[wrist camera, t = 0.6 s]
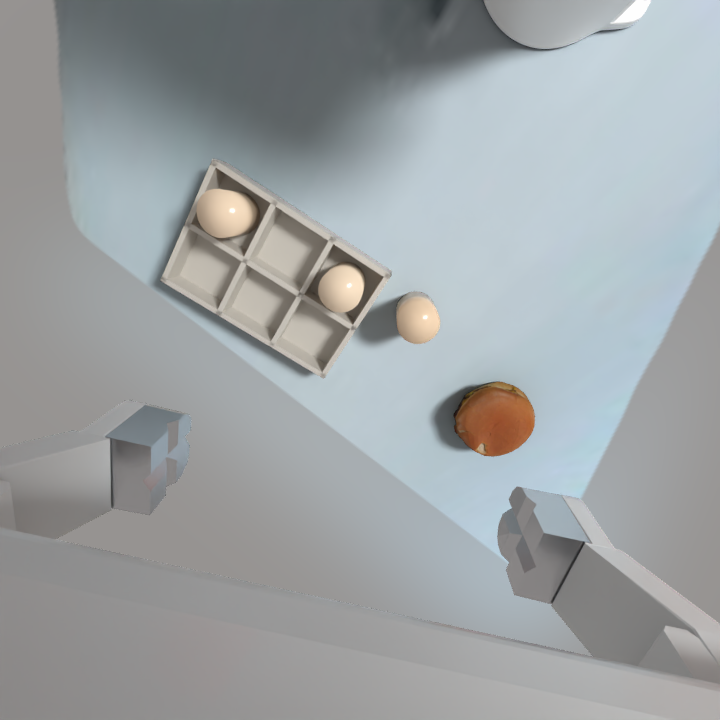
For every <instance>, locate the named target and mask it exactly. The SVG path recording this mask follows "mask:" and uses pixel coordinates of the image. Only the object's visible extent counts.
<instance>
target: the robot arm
mask: <svg viewBox="0 0 720 720" xmlns="http://www.w3.org/2000/svg"><path fill="white" fill-rule="evenodd" d="M650 2H651V0H484V3H485V5H486V8H487V10H488V12H489V14H490V15H491V17H492V19H493V20H494V22H495V23H496V24H497V26H498V27H499V28H500V29H501V30H502V31H503V32H504V33H505V34H506V35H507V36H509V37H510V38H511V39H513V40H515V41H516V42H518V43H520V44H523V45H526V46H529V47H533V48H539V49H552V48H559V47H563V46H567V45H570V44H573V43H575V42H577V41H580V40H581V39H583V38H585V37H587V36H589V35H591V34H593V33H595V32H598V31H601V30H614V29H623V28H627V27H630V26H632V25H634V24H635V23H636V22H637V21H638V20H639V19H640V18H641V17H642V16H643V15H644V13H645V11H646V10H647V8H648V6H649V4H650ZM190 430H191V417H190V416H189V414H187V413H183V412H179V411H174V410H170V409H166V408H162V407H158V406H154V405H148V404H145V403H141V402H136V401H132V400H125V401H123V402H122V403H120V404H119V405H117V406H116V407H115V408H113V409H112V410H110V411H109V412H107V413H106V414H105V415H103V416H102V417H100V418H99V419H97V420H96V421H95V422H93V423H92V424H90V425H89V426H88V427H86V428H84V429H83V430H82V431H80V432H78V431H73V430H72V431H68V432H64V433H60V434H56V435H51V436H47V437H43V438H39V439H35V440H30V441H26V442H22V443H18V444H14V445H9V446H6V447H2V448H0V720H720V624H719V623H718V622H717V621H715V620H714V619H713V618H711V617H710V616H708V615H707V614H706V613H704V612H703V611H702V610H701V609H699V608H698V607H697V606H695V605H694V604H693V603H691V602H690V601H688V600H687V599H686V598H684V597H683V596H682V595H680V594H679V593H678V592H676V591H675V590H674V589H672V588H671V587H670V586H668V585H667V584H665V583H664V582H663V581H662V580H660V579H659V578H658V577H656V576H655V575H654V574H652V573H651V572H650V571H648V570H647V569H646V568H644V567H643V566H642V565H640V564H639V563H638V562H636V561H635V560H634V559H632V558H631V557H630V556H628V555H627V554H625V553H624V552H623V551H621V550H617V549H615V548H614V547H613V545H612V544H611V542H610V541H609V539H608V538H607V536H606V535H605V533H604V532H603V530H602V529H601V528H600V526H599V524H598V523H597V522H596V520H595V518H594V517H593V515H592V514H591V512H590V511H589V509H588V508H587V506H586V505H585V503H584V502H583V501H582V500H580V499H579V498H575V497H570V496H564V495H559V494H552V493H547V492H542V491H537V490H532V489H527V488H522V487H516V488H515V489H514V490H513V491H512V494H511V496H510V498H509V501H510V504H511V507H512V508H511V509H510V510H508V511H507V512H505V513H504V514H503V515H502V517H501V520H500V523H499V527H498V536H497V537H498V546H499V549H500V552H501V554H502V556H503V557H504V558H505V559H506V560H507V561H508V562H509V564H508V566H507V569H506V571H507V574H508V577H509V580H510V583H511V586H512V589H513V592H514V595H517V596H520V597H524V598H529V599H533V600H537V601H541V602H545V603H549V604H552V605H551V606H552V607H553V608H554V610H555V611H556V612H557V614H558V615H559V616H560V617H561V618H562V620H563V621H564V622H565V623H566V625H567V626H568V627H569V628H570V629H571V631H572V632H573V633H574V634H575V635H576V637H577V638H578V639H579V640H580V641H581V643H582V644H583V645H584V646H585V648H586V649H587V650H588V651H589V652H590V653H591V655H592V656H593V657H592V656H587V655H583V654H578V653H574V652H569V651H565V650H560V649H555V648H551V647H546V646H542V645H537V644H533V643H528V642H523V641H519V640H514V639H510V638H505V637H500V636H496V635H491V634H487V633H482V632H478V631H473V630H469V629H464V628H459V627H455V626H450V625H446V624H441V623H437V622H432V621H428V620H422V619H418V618H414V617H409V616H405V615H400V614H395V613H391V612H386V611H381V610H377V609H372V608H368V607H363V606H358V605H353V604H349V603H344V602H340V601H335V600H330V599H326V598H322V597H317V596H312V595H307V594H303V593H298V592H294V591H289V590H284V589H280V588H275V587H270V586H266V585H261V584H257V583H252V582H248V581H243V580H239V579H234V578H229V577H225V576H220V575H216V574H211V573H207V572H202V571H197V570H193V569H188V568H183V567H179V566H174V565H170V564H165V563H160V562H156V561H152V560H147V559H142V558H138V557H133V556H129V555H124V554H119V553H115V552H110V551H106V550H101V549H97V548H92V547H87V546H83V545H78V544H73V543H69V542H64V541H60V540H55V539H57V538H59V537H61V536H63V535H65V534H67V533H68V532H70V531H72V530H74V529H76V528H78V527H80V526H82V525H84V524H86V523H88V522H90V521H92V520H93V519H95V518H97V517H99V516H101V515H103V514H105V513H107V512H109V511H111V508H114V509H119V510H124V511H129V512H135V513H140V514H145V515H150V514H151V513H152V512H153V511H154V509H155V508H156V507H157V506H158V504H159V503H160V502H161V501H162V499H163V498H164V497H165V496H166V487H167V486H169V485H172V484H174V483H176V482H177V481H178V479H179V478H180V477H181V475H182V473H183V471H184V469H185V467H186V465H187V462H188V457H189V451H190V445H189V443H188V442H187V440H186V438H185V436H186V435H187V434H188V433H189V431H190Z"/></svg>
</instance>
